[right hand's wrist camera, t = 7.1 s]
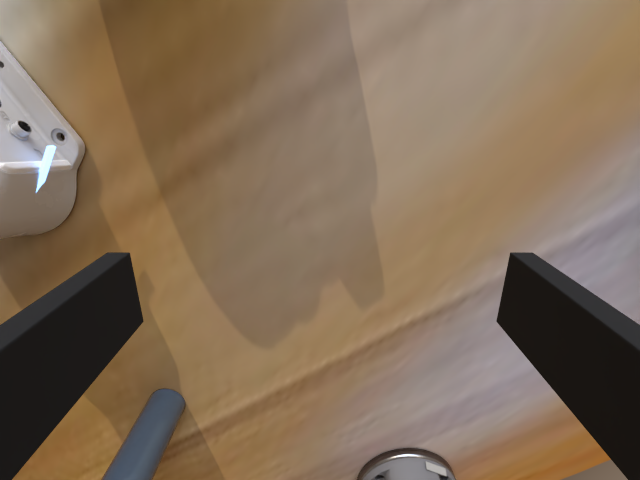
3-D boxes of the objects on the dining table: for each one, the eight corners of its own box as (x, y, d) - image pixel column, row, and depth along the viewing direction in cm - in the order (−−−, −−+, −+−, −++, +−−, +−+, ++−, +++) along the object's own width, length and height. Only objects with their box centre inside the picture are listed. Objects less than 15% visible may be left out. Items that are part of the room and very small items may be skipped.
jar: (162, 382, 49) (97, 494, 35) (192, 401, 50) (141, 516, 36) (142, 403, 50) (73, 520, 36) (172, 421, 51) (116, 540, 37)
